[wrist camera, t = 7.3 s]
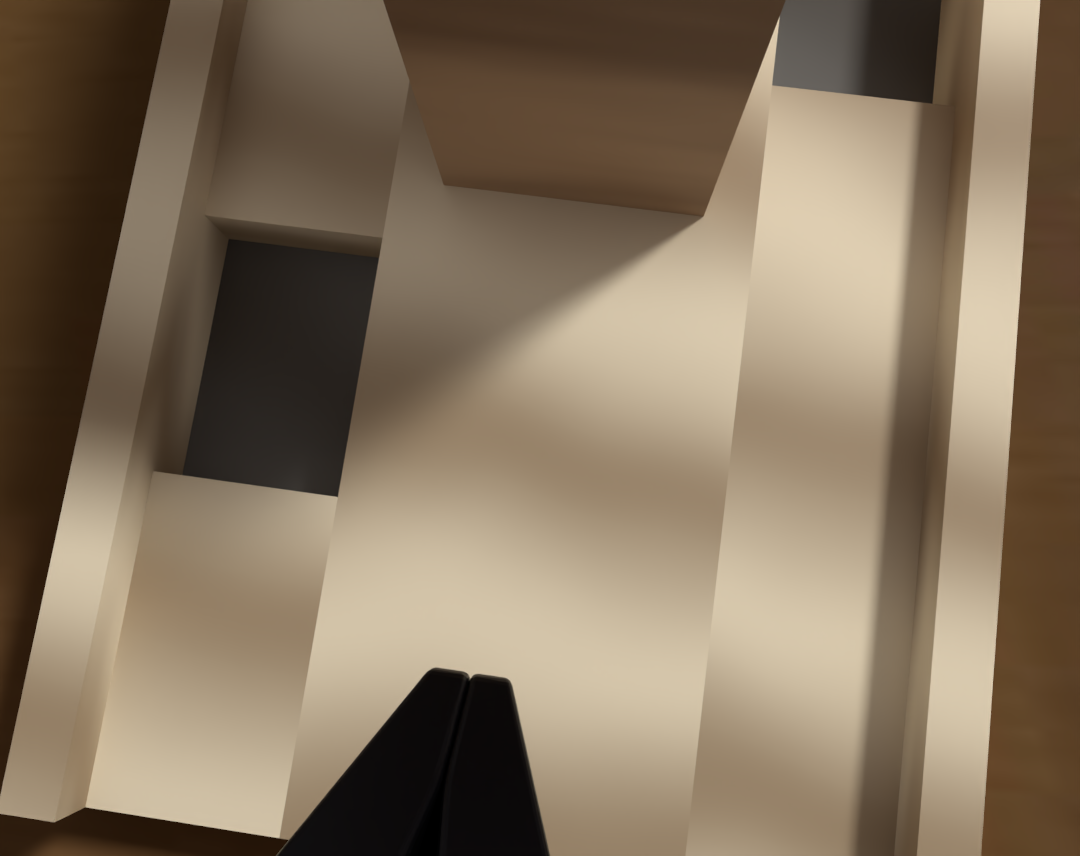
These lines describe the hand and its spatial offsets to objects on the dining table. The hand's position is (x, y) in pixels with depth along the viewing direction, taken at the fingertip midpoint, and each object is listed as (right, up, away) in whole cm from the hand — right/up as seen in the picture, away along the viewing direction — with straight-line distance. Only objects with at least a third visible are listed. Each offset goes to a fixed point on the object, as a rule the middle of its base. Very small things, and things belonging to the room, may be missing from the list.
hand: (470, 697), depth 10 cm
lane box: (+1, +8, +10) cm, 13 cm away
